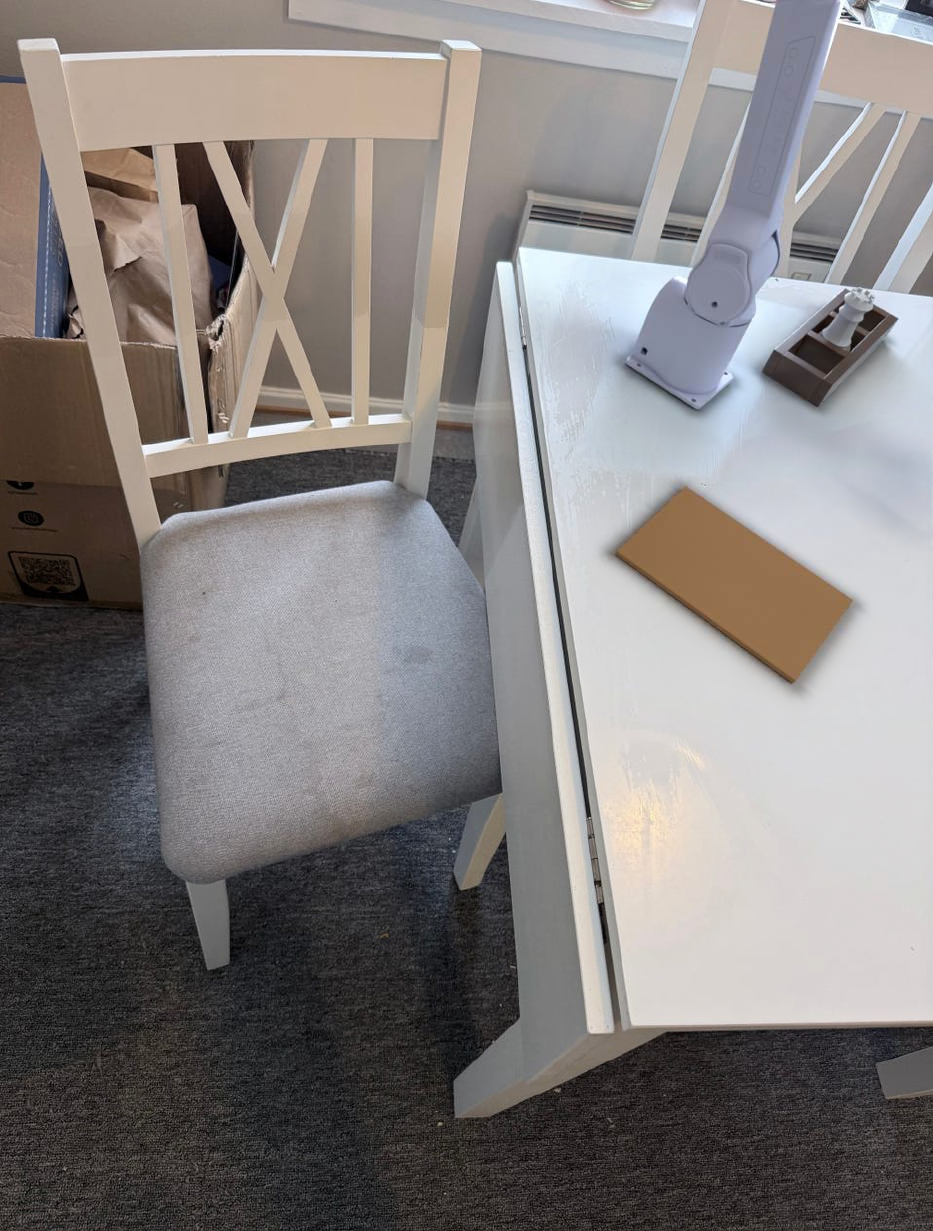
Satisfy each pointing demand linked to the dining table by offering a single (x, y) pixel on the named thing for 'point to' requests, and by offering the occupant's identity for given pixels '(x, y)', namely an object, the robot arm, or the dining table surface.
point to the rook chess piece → (848, 318)
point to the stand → (825, 352)
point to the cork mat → (737, 582)
